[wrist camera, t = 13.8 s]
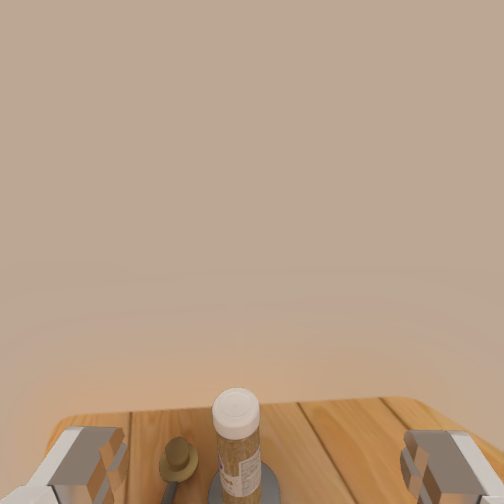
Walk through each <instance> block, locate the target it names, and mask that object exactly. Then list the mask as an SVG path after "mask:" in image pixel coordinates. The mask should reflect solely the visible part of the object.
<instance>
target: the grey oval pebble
mask: <svg viewBox="0 0 504 504" xmlns="http://www.w3.org/2000/svg"><path fill="white" fill-rule="evenodd" d="M261 486H262V500H261V503H260V504H280V488H279V484H278V481H277V478H276V476H275V474H274V473H273V471H272V470H271V469H270V468H269V467H268V466H267V465H266V464H264V463H263V462H261ZM208 504H223V501H222V483H221V478H220V470H219V471H218V472H217V473H216V475H215V476H214V478H213V480H212V482H211V485H210V488H209V493H208Z"/></svg>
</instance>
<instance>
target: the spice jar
mask: <svg viewBox="0 0 504 504" xmlns="http://www.w3.org/2000/svg"><path fill="white" fill-rule="evenodd" d="M212 416H213V424H214V427H215V429H216V433H217V442H218V457H219V466H220V478H221V483H222V501H223V504H260V503H261V500H262V486H261V454H260V437H259V422H260V405H259V401H258V399H257V397H256V395H254V393H253V392H251V391H249V390H248V389H245V388H239V387H236V388H230V389H227V390H225V391H223V392H222V393H220V394H219V395H218V396H217V397H216V399H215V401H214V403H213V406H212Z"/></svg>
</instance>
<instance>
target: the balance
mask: <svg viewBox="0 0 504 504" xmlns="http://www.w3.org/2000/svg"><path fill="white" fill-rule="evenodd" d="M198 462H199V458H198V452H197V450H196V448H195V447H194V446H193V445H191V444H189V443H187V441H186V440H185V439H184V438H180V437H178V438H174V439H172V440H171V441H170V442H169V443H168V444H167V445H166V448H165V452H164V454H163V455H162V457H161V459H160V462H159V471H160V475H161V477H162V478H163V480H164V481H166V482H168V485H167V488H166V491H165V494H164V497H163V500H162V503H161V504H173V501H174V497H175V494H176V491H177V488H178V485H179V483H182V482H184V481H186V480H187V479H189V478H190V477H191V476H192V475H193V474H194V472H195V471H196V469H197V466H198Z"/></svg>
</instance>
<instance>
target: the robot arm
mask: <svg viewBox="0 0 504 504" xmlns="http://www.w3.org/2000/svg"><path fill="white" fill-rule="evenodd" d="M123 438H124V432H123V429H122V428H115V427H91V426H69V427H68V428H67V429H65V430H64V431H63V433H62V434H61V436H60V437H59V438H58V440H57V441H56V443H55V444H54V446H53V447H52V448H51V450H50V451H49V453H48V454H47V456H46V457H45V459H44V460H43V461H42V463H41V464H40V466H39V467H38V469H37V470H36V472H35V473H34V474H33V476H32V477H31V479H30V480H29V482H28V483H27V485H21V486H19V487H18V488H17V489H15V490H14V491H12V492H11V493H10V494H8V495H7V496H6V497H4V498H3V499H2V500H0V504H114V497H113V492H114V491H115V490H116V489H117V488H119V487H120V486H121V485H122V483H123V480H124V478H125V475H126V473H127V468H128V463H129V451H128V447H127V446H126V445H125V444H124V443H123V442H122V440H123ZM404 442H405V444H406V446H407V447H405V448H404V449H403V450H402V451H401V457H400V464H401V471H402V475H403V479H404V482H405V484H406V487H407V489H408V491H409V492H410V493H411V494H412V495H413V496H414V497H415V498H416V499H417V500H418V502H417V504H504V484H503V483H502V481H501V480H500V478H499V477H498V475H497V474H496V472H495V471H494V470H493V468H492V467H491V465H490V464H489V462H488V461H487V459H486V458H485V457H484V455H483V454H482V452H481V451H480V449H479V448H478V446H477V445H476V444H475V442H474V441H473V439H472V438H471V436H470V435H469V434H468V433H467V432H465V431H443V430H407V431H406V432H405V435H404Z"/></svg>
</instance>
